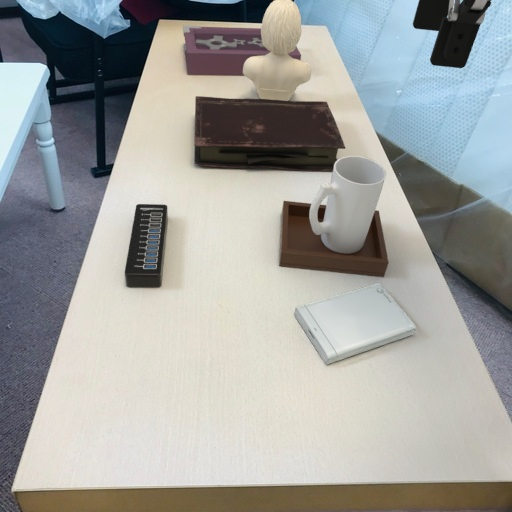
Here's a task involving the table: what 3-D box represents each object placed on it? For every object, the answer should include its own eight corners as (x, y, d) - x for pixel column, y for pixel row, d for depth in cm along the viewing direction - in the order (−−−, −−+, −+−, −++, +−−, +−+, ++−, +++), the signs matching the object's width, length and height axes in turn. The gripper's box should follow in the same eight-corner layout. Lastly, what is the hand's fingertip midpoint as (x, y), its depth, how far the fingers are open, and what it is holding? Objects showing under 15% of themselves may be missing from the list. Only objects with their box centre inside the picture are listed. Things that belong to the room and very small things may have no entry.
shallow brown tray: (383, 277, 69) (388, 263, 68) (279, 266, 69) (281, 252, 68) (374, 224, 78) (379, 210, 76) (281, 214, 78) (283, 200, 76)
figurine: (304, 94, 110) (320, -7, 96) (306, 114, 103) (323, 9, 89) (242, 88, 109) (249, -14, 96) (239, 108, 102) (246, 2, 89)
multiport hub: (125, 287, 64) (124, 274, 63) (137, 216, 75) (136, 203, 73) (161, 287, 65) (160, 274, 63) (168, 216, 75) (167, 204, 74)
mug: (348, 221, 77) (366, 151, 69) (374, 248, 73) (397, 178, 65) (290, 236, 73) (302, 165, 65) (314, 266, 69) (330, 194, 61)
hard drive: (379, 281, 66) (295, 305, 62) (417, 327, 61) (329, 357, 57) (376, 290, 68) (293, 314, 63) (413, 336, 62) (326, 366, 58)
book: (285, 49, 128) (287, 28, 124) (298, 76, 116) (301, 54, 113) (183, 46, 124) (182, 25, 120) (186, 74, 112) (186, 52, 109)
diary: (195, 117, 98) (195, 92, 95) (322, 121, 101) (326, 97, 98) (194, 171, 85) (194, 144, 81) (341, 174, 87) (346, 149, 84)
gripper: (607, -170, 32) (498, 87, 44) (520, -181, 45) (454, 21, 57) (490, -183, 32) (412, 78, 44) (436, -190, 45) (387, 14, 57)
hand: (436, 46), depth 50 cm, fingers open, 9 cm apart
